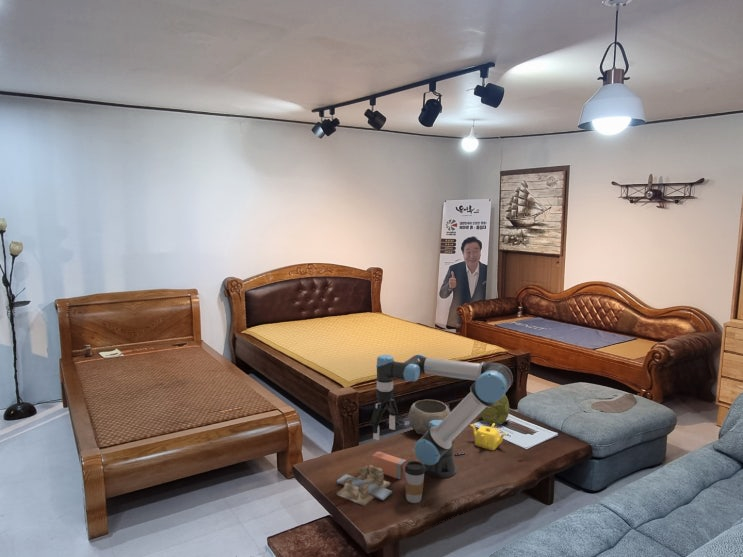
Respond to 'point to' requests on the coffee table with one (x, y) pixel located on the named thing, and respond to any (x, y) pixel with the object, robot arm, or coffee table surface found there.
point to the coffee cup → (414, 481)
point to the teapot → (487, 437)
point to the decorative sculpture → (496, 412)
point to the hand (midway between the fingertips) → (384, 434)
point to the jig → (364, 486)
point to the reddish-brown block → (389, 464)
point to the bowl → (426, 414)
